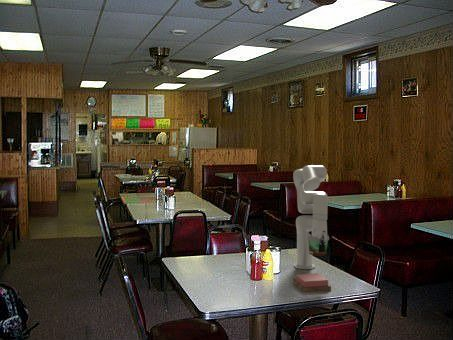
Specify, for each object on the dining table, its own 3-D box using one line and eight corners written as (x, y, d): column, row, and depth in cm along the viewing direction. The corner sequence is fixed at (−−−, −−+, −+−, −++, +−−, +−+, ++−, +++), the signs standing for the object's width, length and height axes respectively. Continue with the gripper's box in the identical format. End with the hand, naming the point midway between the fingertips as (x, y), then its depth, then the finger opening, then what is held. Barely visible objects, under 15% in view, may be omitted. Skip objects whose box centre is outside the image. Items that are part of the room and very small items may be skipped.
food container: (312, 256, 253) (312, 237, 253) (306, 254, 259) (307, 235, 259) (333, 255, 257) (333, 236, 256) (327, 252, 263) (327, 234, 262)
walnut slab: (293, 285, 264) (293, 279, 264) (319, 283, 267) (319, 278, 267) (303, 293, 249) (303, 287, 249) (330, 291, 253) (331, 286, 252)
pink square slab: (295, 280, 263) (295, 274, 263) (318, 278, 266) (318, 273, 266) (304, 287, 250) (304, 281, 250) (328, 285, 253) (328, 280, 253)
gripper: (307, 214, 265) (306, 247, 266) (320, 219, 248) (319, 254, 249) (319, 214, 266) (319, 246, 268) (333, 219, 250) (333, 254, 251)
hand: (319, 250), depth 258 cm, fingers closed on food container, 5 cm apart
